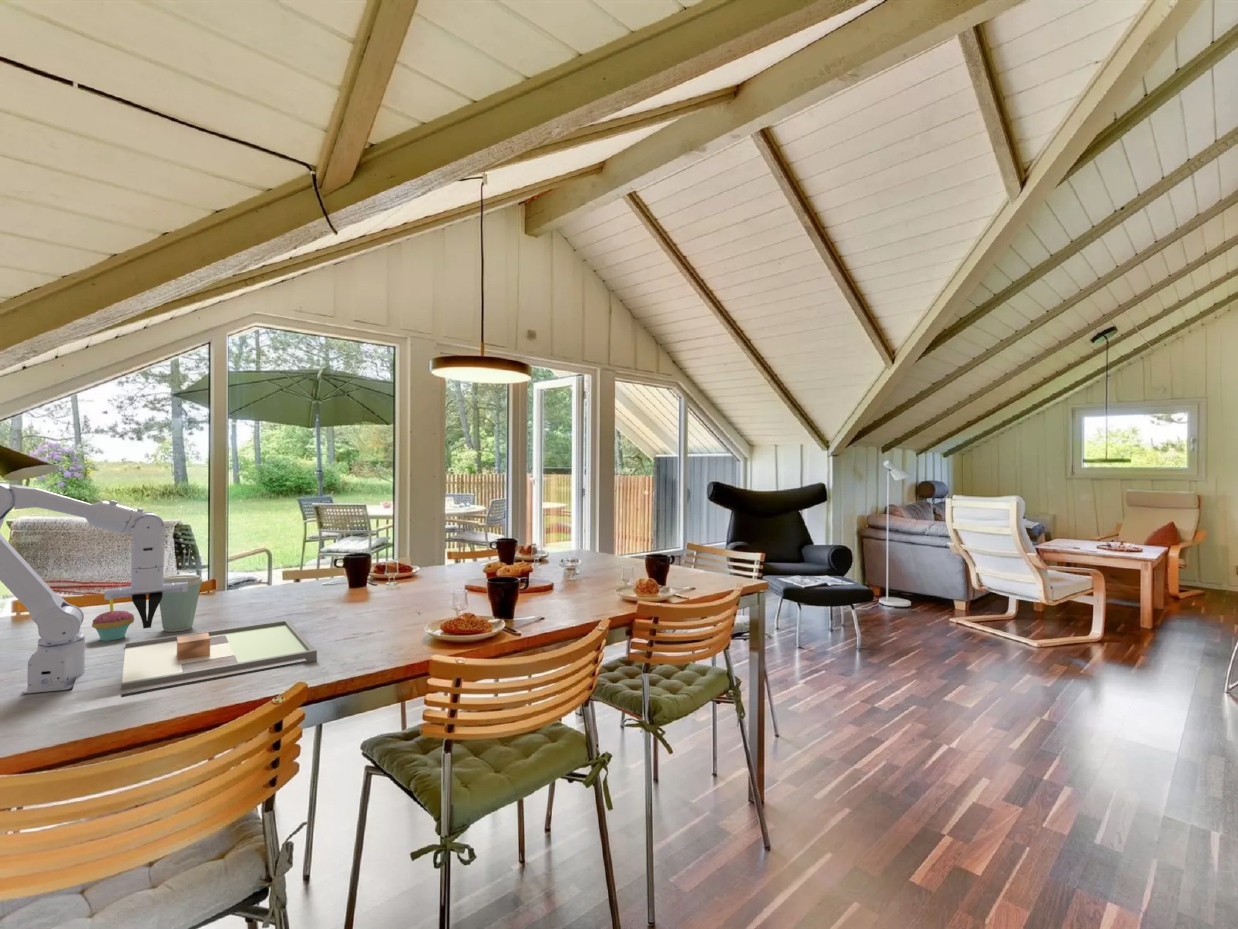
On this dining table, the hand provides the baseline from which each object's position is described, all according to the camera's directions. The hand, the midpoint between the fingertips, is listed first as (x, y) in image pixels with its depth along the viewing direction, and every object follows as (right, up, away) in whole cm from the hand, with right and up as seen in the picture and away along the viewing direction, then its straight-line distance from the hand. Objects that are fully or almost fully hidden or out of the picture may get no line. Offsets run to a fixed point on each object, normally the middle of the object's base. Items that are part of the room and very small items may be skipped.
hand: (147, 627), depth 133 cm
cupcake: (-27, -9, +23) cm, 37 cm away
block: (+7, -8, +5) cm, 12 cm away
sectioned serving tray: (+10, -10, +8) cm, 16 cm away
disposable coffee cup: (-16, -9, +32) cm, 37 cm away
